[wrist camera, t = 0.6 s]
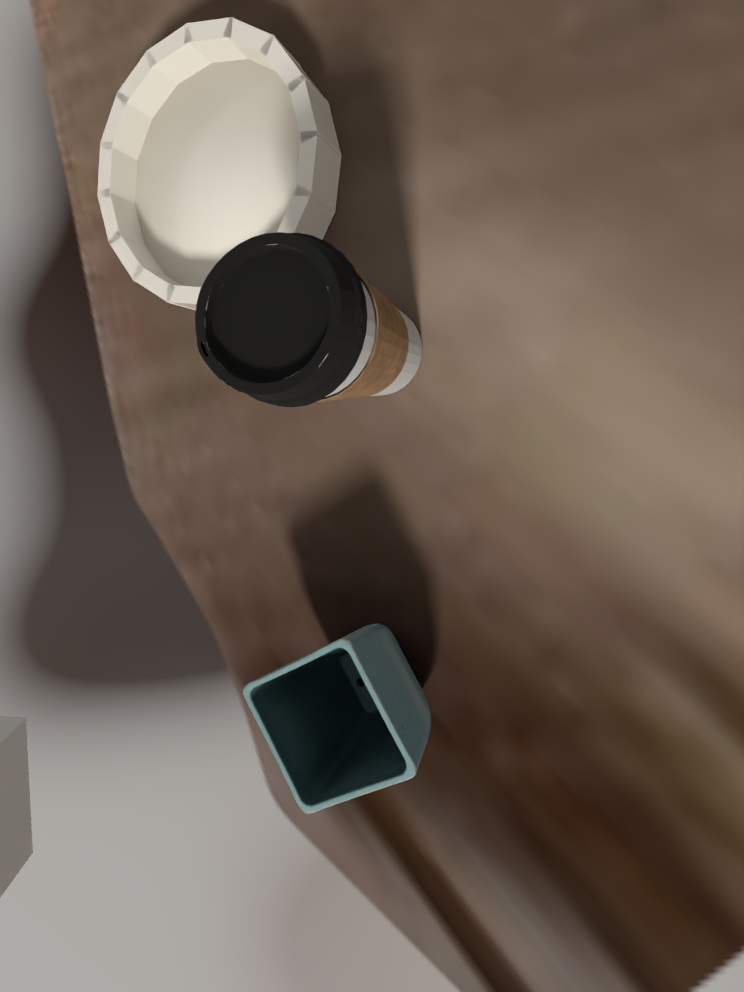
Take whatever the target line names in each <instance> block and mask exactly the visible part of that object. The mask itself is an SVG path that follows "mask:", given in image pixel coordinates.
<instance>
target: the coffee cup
mask: <svg viewBox="0 0 744 992" xmlns="http://www.w3.org/2000/svg"><path fill="white" fill-rule="evenodd" d="M195 325H196V337H197V345H198V349H199V353H200V355H201V356H202V358H203V360H204V361H205V362H206V364H207V365H208V366H209V367H210V369H211V370H212V371H213V372H214V373H215V374H216V375H217V377H218V378H219V379H221V380H222V381H223V382H224V383H226V384H227V385H228V386H230V387H232V388H234V389H236V390H238V391H240V392H244V393H246V394H248V395H250V396H251V397H253V398H255V399H257V400H259V401H262V402H265V403H269V404H272V405H277V406H283V407H298V406H305V405H309V404H312V403H314V402H322V401H331V400H340V399H349V398H358V397H366V396H381V395H387V394H391V393H394V392H397V391H399V390H400V389H402V388H403V387H405V386H406V385H407V384H408V383H409V382H410V381H411V379H412V378H413V377H414V375H415V374H416V372H417V370H418V368H419V365H420V361H421V356H422V344H421V338H420V335H419V332H418V330H417V328H416V326H415V325H414V323H413V322H412V321H411V320H410V319H409V317H407V316H406V315H405V314H404V313H402V312H401V311H400V310H399V309H397V308H396V307H395V305H394V304H393V303H392V302H390V301H389V300H388V299H387V298H386V297H385V296H384V295H383V294H382V293H381V292H380V291H378V290H377V289H376V288H375V287H374V286H373V285H372V284H371V283H370V282H369V281H368V280H367V279H365V278H364V277H363V276H362V275H361V274H360V273H359V272H358V271H357V270H355V269H354V267H353V265H352V264H351V263H350V262H349V261H348V259H347V258H346V257H345V256H344V255H343V253H341V252H340V251H339V250H337V249H336V248H335V247H334V246H332V245H331V244H329V243H327V242H326V241H324V240H322V239H319V238H317V237H315V236H312V235H308V234H302V233H283V232H275V233H265V234H262V235H258V236H255V237H252V238H250V239H248V240H246V241H244V242H242V243H240V244H238V245H237V246H235V247H234V248H233V249H231V250H230V251H229V252H227V253H226V254H225V255H224V256H223V257H222V258H221V259H220V260H219V261H218V262H217V263H216V264H215V266H214V267H213V269H212V270H211V271H210V273H209V274H208V276H207V277H206V279H205V281H204V283H203V285H202V287H201V289H200V292H199V296H198V300H197V304H196V314H195Z"/></svg>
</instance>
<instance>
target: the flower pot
mask: <svg viewBox="0 0 744 992" xmlns="http://www.w3.org/2000/svg"><path fill="white" fill-rule="evenodd" d="M360 678H362V679H363V681H364V684H363V685H361V684H360V683H359V681H358V680H359V679H360ZM243 694H244V697H245V699H246V701H247V703H248V705H249V707H250V709H251V711H252V713H253V715H254V717H255V719H256V721H257V723H258V725H259V727H260V728H261V731H262V732H263V734H264V736H265V738H266V740H267V742H268V744H269V746H270V749H271V750H272V752H273V754H274V756H275V758H276V760H277V762H278V764H279V766H280V768H281V770H282V772H283V775H284V776H285V779H286V781H287V783H288V785H289V787H290V789H291V791H292V793H293V795H294V798H295V800H296V802H297V804H298V805H299V806H300V808H301V809H302V810H303V812H305V813H307V814H309V813H313V812H316V811H319V810H321V809H324V808H327V807H330V806H333V805H335V804H338V803H341V802H344V801H347V800H350V799H352V798H355V797H358V796H361V795H364V794H367V793H370V792H373V791H376V790H379V789H382V788H385V787H388V786H391V785H394V784H397V783H400V782H403V781H406V780H408V779H411V778H413V777H414V776H415V775H416V771H417V768H418V766H419V763H420V760H421V757H422V754H423V752H424V749H425V746H426V743H427V740H428V737H429V733H430V729H431V714H430V709H429V706H428V702H427V700H426V697H425V695H424V693H423V690H422V688H421V686H420V684H419V682H418V681H417V679H416V677H415V675H414V673H413V671H412V669H411V667H410V666H409V664H408V662H407V660H406V658H405V656H404V654H403V652H402V650H401V649H400V647H399V645H398V643H397V641H396V639H395V637H394V635H393V634H392V632H391V631H390V630H389V629H388V628H387V627H386V626H384V625H382V624H377V623H376V624H370V625H367V626H364V627H362V628H360V629H358V630H356V631H354V632H352V633H351V634H349V635H347V636H345V637H343V638H341V639H339V640H337V641H335V642H333V643H331V644H329V645H327V646H325V647H323V648H321V649H319V650H316V651H314V652H312V653H310V654H308V655H306V656H304V657H302V658H299V659H297V660H295V661H293V662H290V663H288V664H286V665H284V666H282V667H280V668H278V669H276V670H274V671H272V672H270V673H268V674H266V675H264V676H262V677H260V678H258V679H256V680H254V681H252V682H250V683H248V684H247V685H245V687H244V688H243Z"/></svg>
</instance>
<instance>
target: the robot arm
mask: <svg viewBox="0 0 744 992" xmlns="http://www.w3.org/2000/svg"><path fill="white" fill-rule="evenodd" d="M32 853H33V850H32V831H31V810H30V790H29V772H28V751H27V732H26V718H19V717H7V716H0V897H1V895H2V894H3V893H4V892H5V890H6V889H7V887H8V886H9V885H10V883H11V882H12V881H13V879H14V878H15V876H16V875H17V874H18V872H19V871H20V869H21V868H22V866H23V865H24V864H25V862H26V861H27V860H28V858H29V857H30V856H31V854H32Z"/></svg>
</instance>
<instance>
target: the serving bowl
mask: <svg viewBox="0 0 744 992" xmlns="http://www.w3.org/2000/svg"><path fill="white" fill-rule="evenodd" d="M341 158H342V154H341V152H340V148H339V144H338V139H337V135H336V131H335V127H334V123H333V119H332V114H331V110H330V105H329V102H328V101H327V100H326V99H325V98H324V96H323V95H322V94H321V93H320V91H319V90H318V89H317V87H316V86H315V85H314V83H313V82H312V81H311V79H310V78H309V77H308V75H307V74H306V73H305V72H304V70H303V69H302V68H301V65H300V64H299V63H298V62H297V61H296V60H295V58H294V57H293V56H292V55H291V54H290V53H289V52H288V51H287V49H286V48H285V47H284V46H283V45H282V44H281V43H280V41H279V40H278V39H277V38H276V37H275V36H274V35H273V34H272V35H271V34H269V33H267V32H265V31H262V30H260V29H258V28H255V27H253V26H251V25H248V24H246V23H244V22H241V21H239V20H237V19H235V18H233V17H229V18H222V19H214V20H207V21H200V22H193V23H186V24H185V25H184V26H182V27H181V28H179V29H178V30H176V31H175V32H173V33H172V34H171V35H169V36H168V37H166V38H165V39H163V40H162V41H160V42H159V43H157V44H156V45H154V46H153V47H152V48H150V49H149V50H147V51H146V53H145V54H144V56H143V57H142V58H141V60H140V61H139V63H138V64H137V65H136V67H135V68H134V70H133V71H132V73H131V74H130V75H129V77H128V78H127V80H126V81H125V82H124V84H123V85H122V87H121V88H120V90H119V91H118V92H117V94H116V98H115V101H114V104H113V107H112V110H111V113H110V116H109V119H108V122H107V125H106V128H105V131H104V134H103V137H102V140H101V142H100V157H99V177H98V194H97V195H98V200H99V204H100V208H101V212H102V216H103V220H104V224H105V228H106V232H107V237H108V241H109V245H111V247H112V248H113V250H114V251H115V253H116V254H117V256H118V257H119V259H120V261H121V262H122V264H123V265H124V267H125V268H126V270H127V271H128V273H129V274H130V276H131V277H132V280H134V281H135V282H137V283H139V284H140V285H142V286H143V287H145V288H146V289H148V290H150V291H151V292H153V293H154V294H156V295H157V296H159V297H161V298H162V299H164V300H165V301H166V302H168V303H171V304H175V305H178V306H182V307H186V308H189V309H193V310H196V304H197V300H198V296H199V292H200V289H201V287H202V285H203V283H204V281H205V279H206V277H207V276H208V274H209V273H210V271H211V270H212V269H213V267H214V266H215V264H216V263H217V262H218V261H219V260H220V259H221V258H222V257H223V256H224V255H225V254H226V253H227V252H229V251H230V250H231V249H233V248H234V247H235V246H237V245H238V244H240V243H242V242H244V241H246V240H248V239H250V238H252V237H255V236H258V235H262V234H265V233H275V232H283V233H302V234H308V235H312V236H315V237H317V238H319V239H322V240H323V238H324V236H325V233H326V231H327V229H328V227H329V225H330V223H331V220H332V218H333V216H334V214H335V212H336V201H337V192H338V183H339V174H340V165H341Z"/></svg>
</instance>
